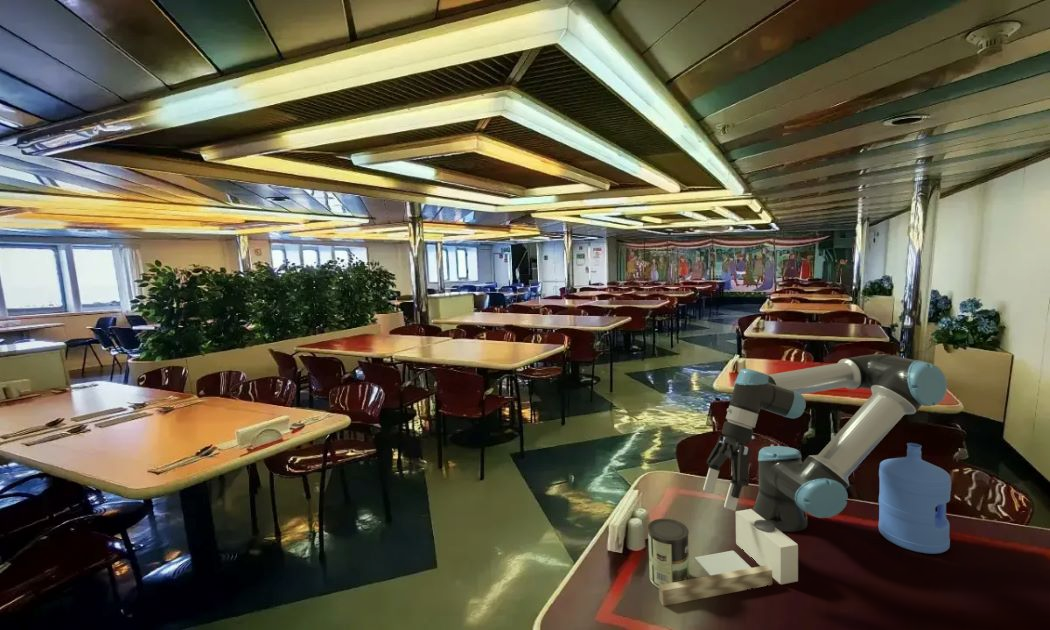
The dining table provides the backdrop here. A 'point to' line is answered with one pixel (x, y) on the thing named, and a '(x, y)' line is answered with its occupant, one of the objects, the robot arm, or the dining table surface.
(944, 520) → the water jug
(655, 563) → the coffee can
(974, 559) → the dining table surface
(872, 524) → the dining table surface
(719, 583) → the guide rail
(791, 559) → the end cabinet
